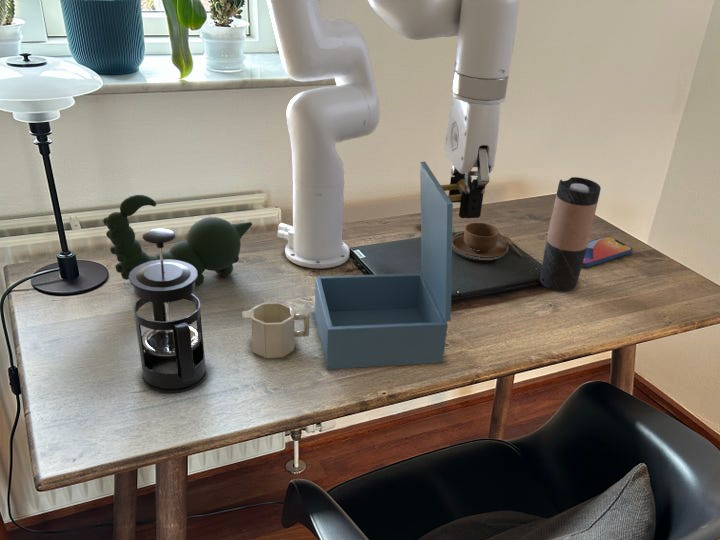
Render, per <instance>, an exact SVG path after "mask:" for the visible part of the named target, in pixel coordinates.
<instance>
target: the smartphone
mask: <svg viewBox="0 0 720 540" xmlns="http://www.w3.org/2000/svg"><path fill="white" fill-rule="evenodd" d="M632 253H633V248H632V246H630V245H628V244H626V243H624V242H622V241H620V240H619V239H616V238H614V237H612V236H607V235H606V236H603V237H599V238H596V239H592V240H589V242H588V246H587V250H586V253H585V257H584V260H583V264H582V268H589V267H592V266H595V265H599V264H601V263H602V264H603V263H605V262H608V261H611V260H615V259H617V258H621V257H624V256H627V255H630V254H632Z"/></svg>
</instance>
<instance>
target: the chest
mask: <svg viewBox="0 0 720 540" xmlns="http://www.w3.org/2000/svg"><path fill="white" fill-rule="evenodd" d="M314 316H315V320H316V326H317V331H318V334H319V339H320V344H321V350H322V352H323V358H324V361H325V362H324V363H325V366H326V367H325V368H326V370H336V369H337V370H338V369H357V368H372V367H373V368H374V367H390V366H392V367H393V366H406V365H407V366H409V365H425V364H429V365H430V364H442V363H444V357H445V356H444V355H445V348H446V340H447V334H448V326H449V324H448V322H446V321H445V319H444V317H443V315H442V313H441V311H440V309H439V307H438V304H437V302H436V300H435V298H434V296H433V294H432V292H431V290H430V288H429V286H428V284H427V282H426V279H425V277H424V275H423V273H422V272H418V273H386V274H385V273H383V274H381V273H380V274H379V273H378V274H354V275H353V274H352V275H351V274H348V275H347V274H346V275H320V276H319V275H316V276H315V278H314Z"/></svg>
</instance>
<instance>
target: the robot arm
mask: <svg viewBox="0 0 720 540" xmlns="http://www.w3.org/2000/svg"><path fill="white" fill-rule="evenodd" d="M367 2H368V4H369V6H370V7H371V9H372V10H373V11H374V12H375V13H376V14H377V15H378V16H379V17H380V19H382V20H383V22H385V23H386V24H387V26H389V27H390V28H391V29H393V30H394V32H395V33H398V34H399V35H401V36H402V37H404V38H406V39H409V40H414V41H422V40H429V39H436V38H450V37H457V40H456V41H457V43H456V52H455V58H454V59H455V60H454V69H453V77H452V78H453V79H452V80H453V81H452V89H451V96H452V101H451V106H450V111H449V115H448V116H449V117H448V122H447V129H446V134H445V135H446V136H445V141H444V154H445V156H446V158H447V159H448V160H449V162H450V164H451V169H450V175H451V176H450V182H449V184H457V182H458V181H459V180H461V179H465V189H464V190H465V191H462V194H461V193H460V191H459V190H458V189H457V190H448V196H449V195H458V194H461V200H459V201H451V202H452V204H453V203H459V211H458V216H459V218H460V219H479V218H480V217H481V214H482V206H483V200H484V194H485V192H486V186H487V185H488V184H489V183H490V173H492V172H493V169H494V167H495V160H496V155H497V148H498V139H499V129H500V117H501V104H502V103H504V102H505V101H506V97H507V90H508V84H509V76H510V71H511V65H512V57H513V50H514V43H515V37H516V32H517V31H516V30H517V24H518V16H519V12H520V11H519V10H520V0H367ZM266 3H267V5H268V9H269V14H270V15H269V16H270V19H271V23H272V28H273V31H274V36H275V41H276V45H277V48H278V52H279V56H280V60H281V63H282V67H283V69H284V72H285V73H286V75H287V76H288V77H289V78H290V79H291V80H293V81H296V82H303V83H305V82H314V81H321V80H330V79H334V82H335V84H336V85H330V86H323V87H317V88H311V89H306V90H304V91H301V92H299V93H297V94H296V95H295V96H293V98H291V99H290V101H289V103H288V105H287V108H286V123H287V124H286V125H287V130H288V134H289V139H290V146H291V158H292V225H290V224H287V223H283V222H280V223H279V224H278V226H277V233H276V237H277V238H280V239H285V240H286V241H287V244H285V247H284V253H285V257H286V259H288V260H289V261H290V262H291V263H293V264H295V265H296V266H300V267H303V268H309V269H331V268H336V267H337V266H341V265H342V264H344V263H346V262H347V261H348V260H349V258H350V254H351V253H350V252H351V251H350V250H351V249H350V247H349V246H348V244H346V243H345V242H344V241H343V227H344V204H345V172H346V171H345V165H344V162H343V160H342V158H341V156H340V154H339V152H338V151H337V149H336V144H340V143H343V142H345V141H350V140H354V139H360V138H363V137H366V136H369V135H371V134H373V133H374V131H376V129H377V127H378V125H379V123H380V119H381V118H380V117H381V107H380V99H379V96H378V89H377V84H376V79H375V76H374V71H373V70H374V69H373V66H372V60H371V55H370V52H369V47H368V43H367V40H366V38H365V36H364V34H363V32H362V30H360V29H361V28H359V27H358V26H357V24H355V23H354V22H352V21H350V20H348V19H343V18H336V19H335V18H334V19H325V18H324V16H323V13H322V10H321V6H320V2H319V0H266ZM473 168H477V170H473ZM473 177H476V179H475V178H473Z"/></svg>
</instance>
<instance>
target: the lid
mask: <svg viewBox="0 0 720 540" xmlns="http://www.w3.org/2000/svg"><path fill="white" fill-rule="evenodd" d="M419 167H420V169H419V172H420V177H419V179H420V225H421V230H420V264H421V265H420V267H421V268H420V270H421V273H423V275H424V277H425V279H426V282H427V284H428V286H429V288H430V290H431V292H432V294H433V296H434V298H435V300H436V302H437V304H438V307H439V309H440V311H441V313H442V315H443V317H444V319H445V321H446V322H447V323H449V322H452V278H453V277H452V275H453V274H452V271H453V270H452V269H453V268H452V267H453V264H452V263H453V249H452V237H453V216H454V215H453V211H454V210H453V209H454V204H453V203H452V202H451V201H459V200H461V194H462V191H465V190H464V189H465V179H461V180H459V181H458V182H457V184H450V183H449V184H440V182H439V181H438V179H437V178H436V176H435V175H434V172H433V171H432V170H431V168H430V167H429V165H428V164H427V162H426V161H420V163H419ZM457 189H458V190H459V191H460V193H461V194H458V195H449V194H448V195H447V193H446V192H447V191H449V190H457Z"/></svg>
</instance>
